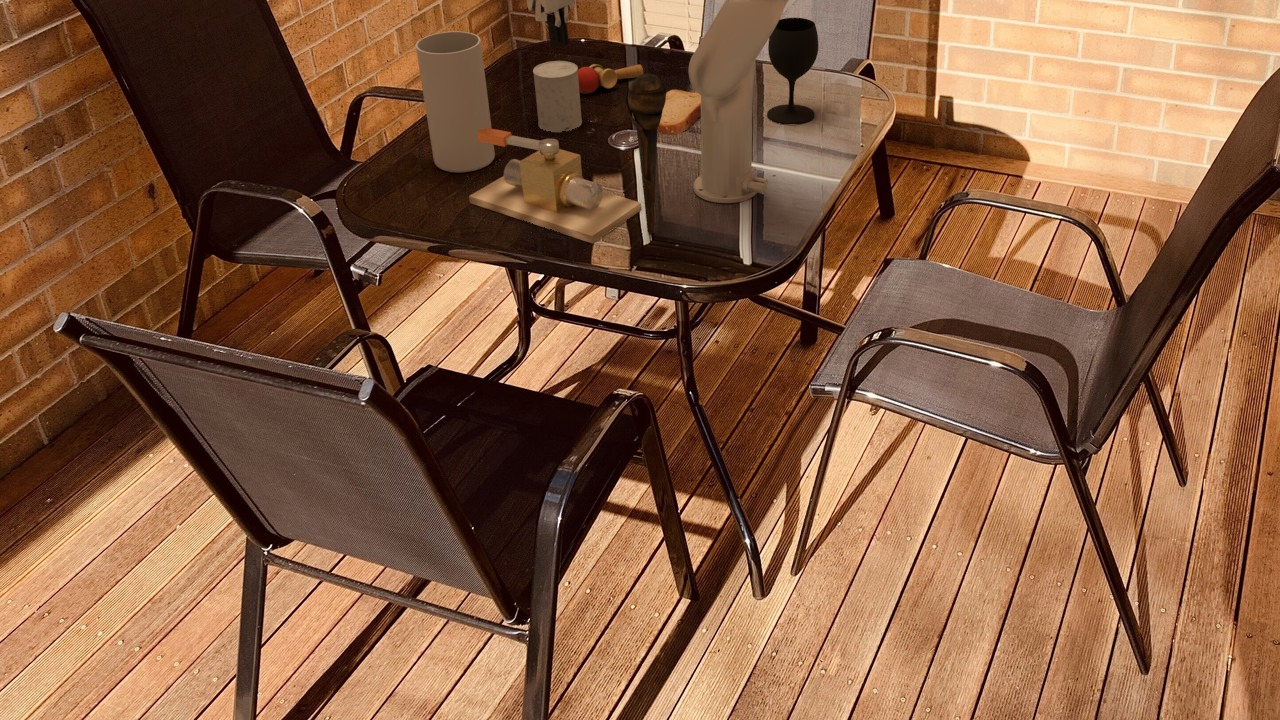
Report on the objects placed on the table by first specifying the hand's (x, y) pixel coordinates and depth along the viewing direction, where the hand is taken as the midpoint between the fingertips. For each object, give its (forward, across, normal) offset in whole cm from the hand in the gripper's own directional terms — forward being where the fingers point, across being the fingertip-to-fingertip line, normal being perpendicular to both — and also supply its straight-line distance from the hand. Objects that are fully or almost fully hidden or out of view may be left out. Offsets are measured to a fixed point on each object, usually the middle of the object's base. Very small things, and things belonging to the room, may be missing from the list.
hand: (559, 44), depth 212 cm
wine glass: (+28, -46, +24) cm, 59 cm away
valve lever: (+15, +14, -2) cm, 20 cm away
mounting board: (+27, +13, +4) cm, 30 cm away
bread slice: (+28, -36, +3) cm, 45 cm away
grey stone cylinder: (+26, -19, -18) cm, 37 cm away
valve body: (+25, +13, +4) cm, 29 cm away
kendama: (+27, -42, -21) cm, 54 cm away
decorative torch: (+28, +13, +26) cm, 40 cm away
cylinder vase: (+26, +6, -24) cm, 36 cm away
